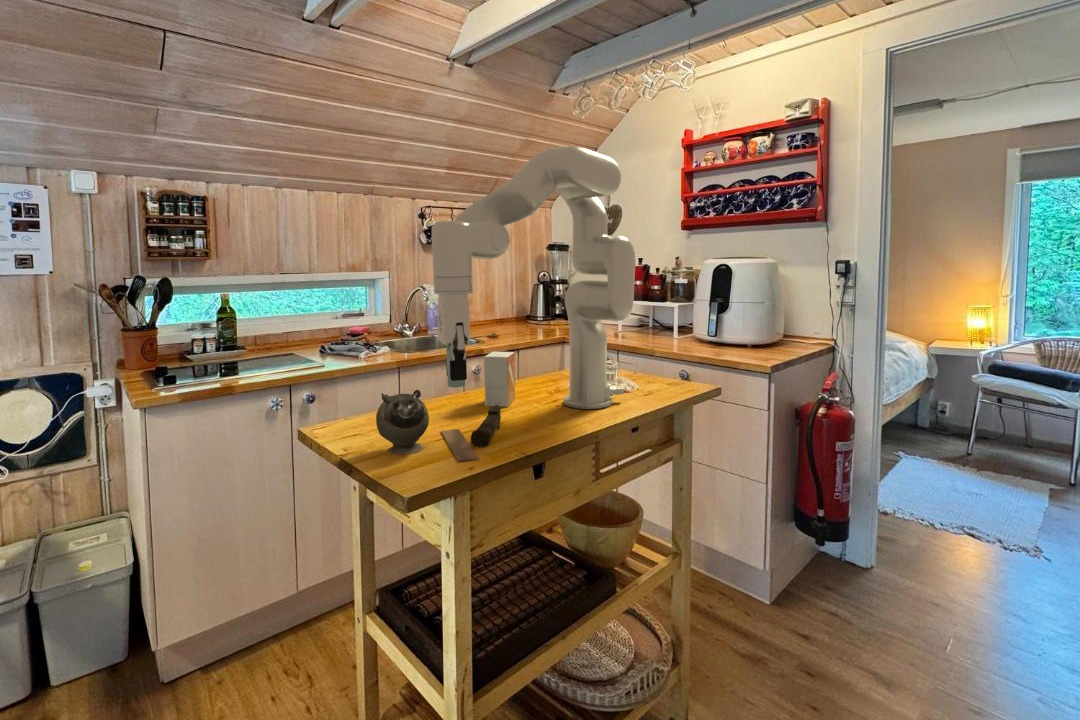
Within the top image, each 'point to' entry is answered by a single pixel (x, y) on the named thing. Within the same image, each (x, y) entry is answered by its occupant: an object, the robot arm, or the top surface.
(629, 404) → the top surface
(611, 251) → the robot arm
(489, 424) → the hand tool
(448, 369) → the green ice pop
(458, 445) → the joist strip
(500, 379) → the small box
